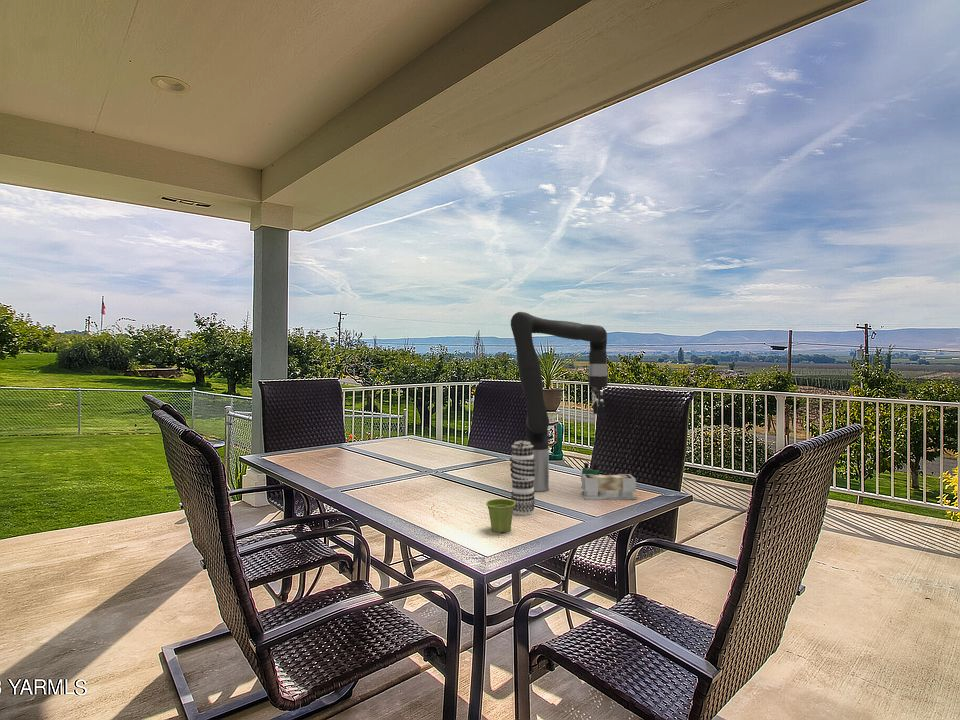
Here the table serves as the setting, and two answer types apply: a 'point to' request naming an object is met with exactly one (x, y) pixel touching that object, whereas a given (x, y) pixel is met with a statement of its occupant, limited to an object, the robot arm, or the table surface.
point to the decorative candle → (522, 477)
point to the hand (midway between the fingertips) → (598, 415)
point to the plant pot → (500, 514)
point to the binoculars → (590, 470)
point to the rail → (609, 481)
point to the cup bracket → (592, 491)
